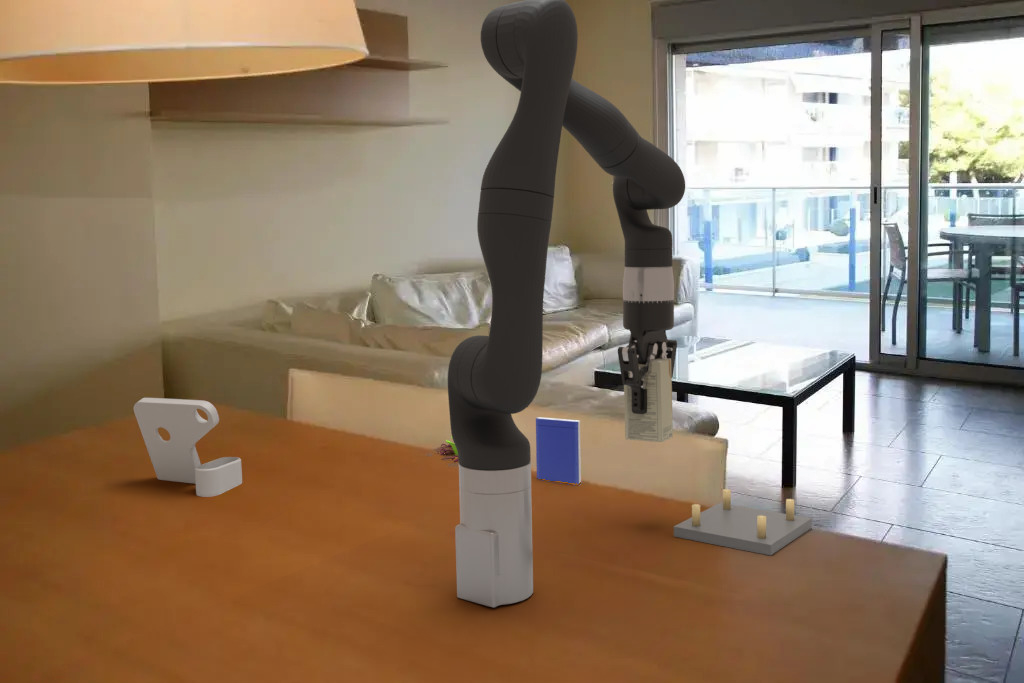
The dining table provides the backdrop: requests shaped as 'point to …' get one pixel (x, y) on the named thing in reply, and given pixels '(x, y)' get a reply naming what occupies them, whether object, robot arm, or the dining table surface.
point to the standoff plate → (743, 526)
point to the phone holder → (185, 444)
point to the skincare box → (652, 406)
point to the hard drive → (558, 450)
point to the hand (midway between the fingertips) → (648, 410)
